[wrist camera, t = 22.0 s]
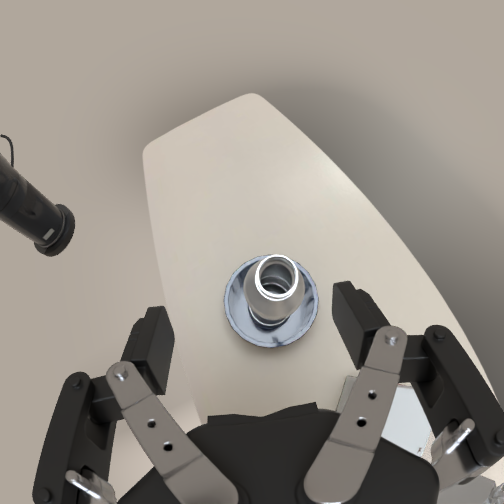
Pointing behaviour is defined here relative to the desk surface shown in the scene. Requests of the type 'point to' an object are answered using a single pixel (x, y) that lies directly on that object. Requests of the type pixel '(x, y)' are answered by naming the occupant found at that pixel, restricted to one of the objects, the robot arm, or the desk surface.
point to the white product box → (400, 418)
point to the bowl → (260, 336)
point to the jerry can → (473, 493)
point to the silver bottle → (273, 291)
